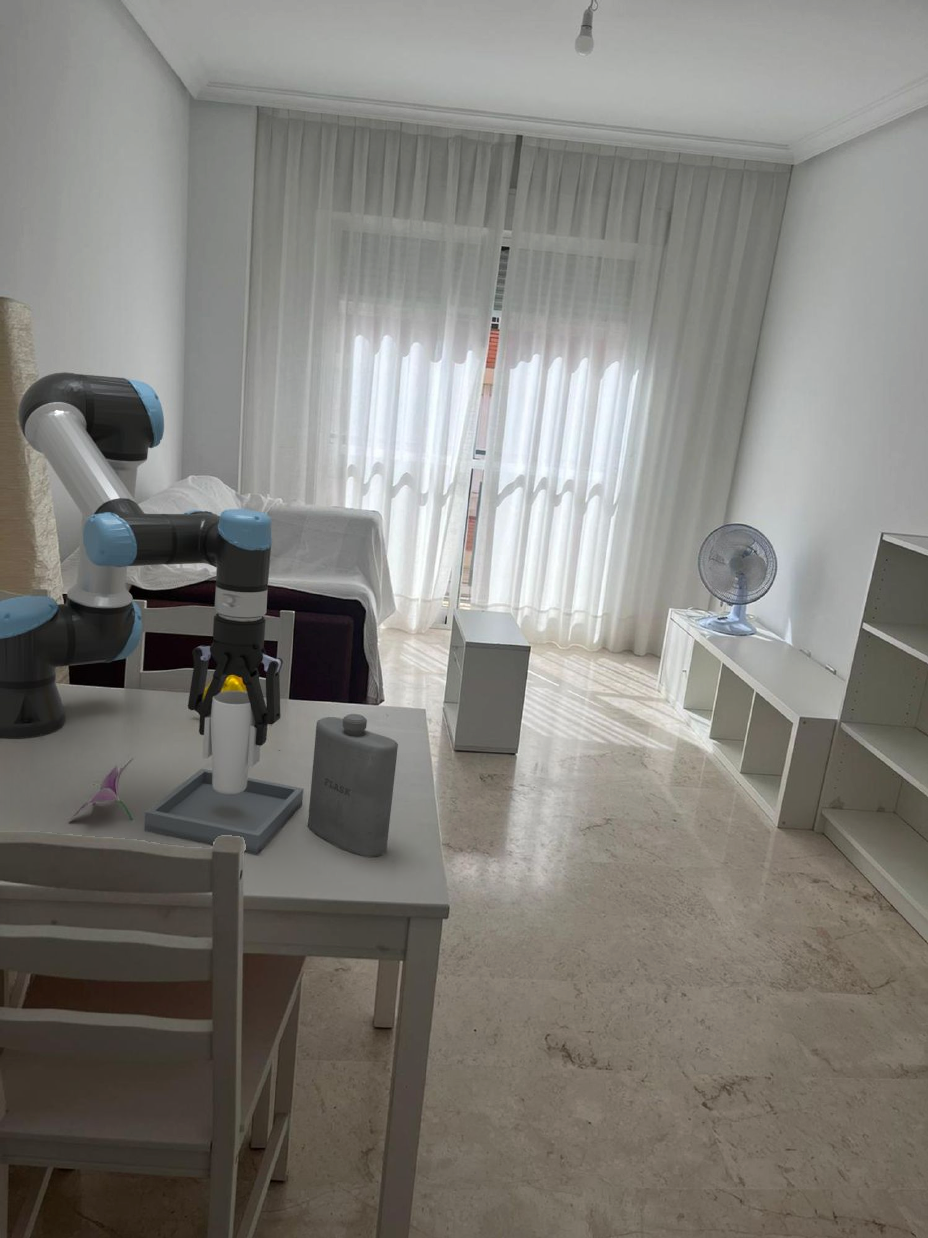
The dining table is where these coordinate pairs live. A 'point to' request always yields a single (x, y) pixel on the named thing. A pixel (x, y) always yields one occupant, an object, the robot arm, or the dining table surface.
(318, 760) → the flask
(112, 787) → the lily
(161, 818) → the tray
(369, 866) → the dining table surface
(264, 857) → the dining table surface
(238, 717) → the drinking glass
